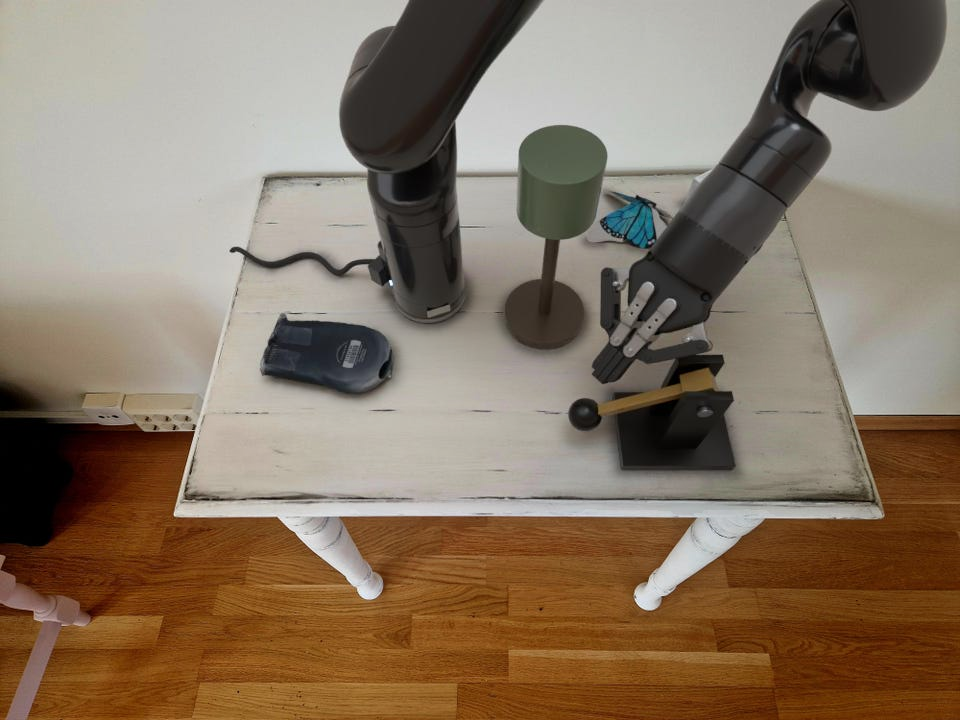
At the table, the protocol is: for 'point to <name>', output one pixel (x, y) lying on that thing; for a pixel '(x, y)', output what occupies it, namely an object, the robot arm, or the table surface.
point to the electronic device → (327, 354)
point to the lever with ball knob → (637, 400)
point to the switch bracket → (678, 426)
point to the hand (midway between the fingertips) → (599, 379)
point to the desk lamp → (554, 227)
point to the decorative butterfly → (631, 223)
